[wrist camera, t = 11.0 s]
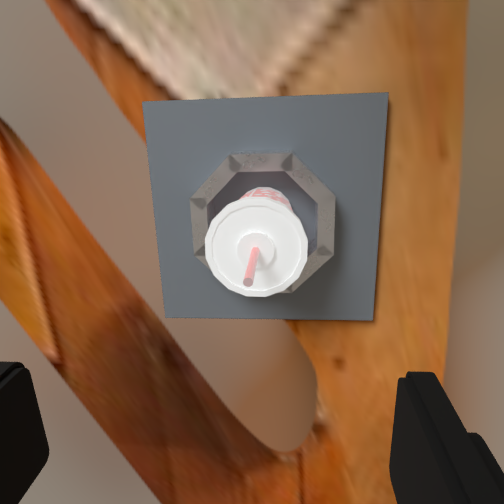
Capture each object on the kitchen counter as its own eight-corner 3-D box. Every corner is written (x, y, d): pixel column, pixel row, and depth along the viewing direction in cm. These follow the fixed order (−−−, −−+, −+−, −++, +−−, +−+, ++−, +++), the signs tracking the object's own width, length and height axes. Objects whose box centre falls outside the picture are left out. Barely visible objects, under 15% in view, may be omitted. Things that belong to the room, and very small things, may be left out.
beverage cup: (234, 257, 33) (200, 348, 20) (218, 184, 32) (168, 231, 18) (308, 245, 33) (323, 330, 19) (295, 169, 31) (302, 206, 18)
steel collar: (195, 152, 31) (185, 155, 28) (332, 148, 30) (337, 151, 27) (204, 278, 34) (196, 292, 31) (328, 278, 33) (332, 293, 30)
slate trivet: (147, 102, 31) (142, 101, 30) (384, 93, 30) (388, 92, 29) (169, 311, 37) (165, 317, 36) (370, 313, 35) (372, 320, 34)
